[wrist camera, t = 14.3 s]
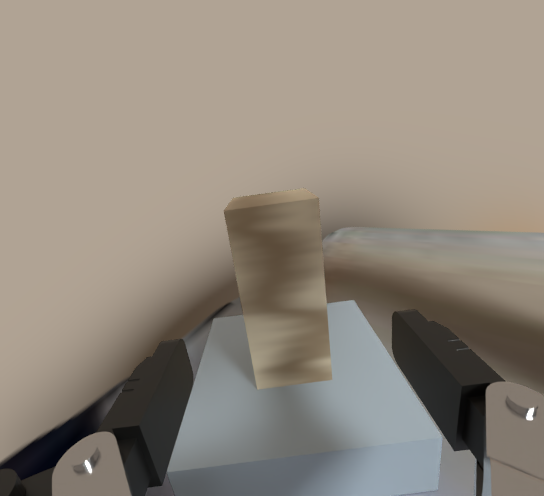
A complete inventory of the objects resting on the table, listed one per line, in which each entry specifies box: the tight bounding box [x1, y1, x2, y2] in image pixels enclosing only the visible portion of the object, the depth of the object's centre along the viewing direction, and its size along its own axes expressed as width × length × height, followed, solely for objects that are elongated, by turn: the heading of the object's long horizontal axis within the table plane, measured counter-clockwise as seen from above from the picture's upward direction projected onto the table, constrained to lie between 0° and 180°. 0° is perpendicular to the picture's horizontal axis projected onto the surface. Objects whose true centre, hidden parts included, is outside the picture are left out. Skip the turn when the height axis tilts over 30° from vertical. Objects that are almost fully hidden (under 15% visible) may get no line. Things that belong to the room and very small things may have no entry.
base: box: [167, 300, 442, 496], centre depth 21 cm, size 14×14×4 cm
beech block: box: [224, 188, 332, 390], centre depth 19 cm, size 5×5×12 cm
